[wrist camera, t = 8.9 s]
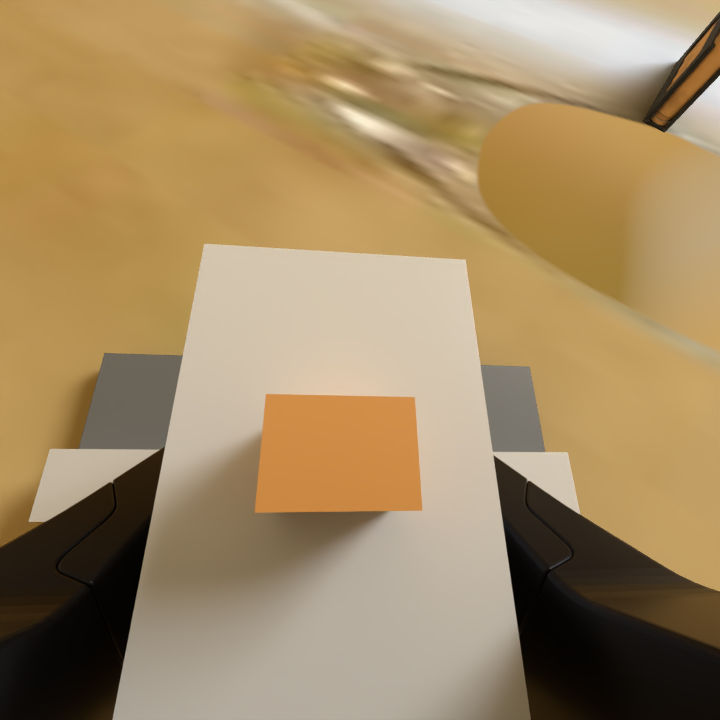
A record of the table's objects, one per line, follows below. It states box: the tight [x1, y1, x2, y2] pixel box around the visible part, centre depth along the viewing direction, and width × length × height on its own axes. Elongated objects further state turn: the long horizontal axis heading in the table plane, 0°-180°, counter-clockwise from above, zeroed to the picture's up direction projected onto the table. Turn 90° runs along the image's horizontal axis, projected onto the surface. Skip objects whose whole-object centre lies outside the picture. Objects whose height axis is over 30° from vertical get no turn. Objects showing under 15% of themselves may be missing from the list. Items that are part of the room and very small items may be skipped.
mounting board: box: [28, 353, 580, 522], centre depth 14 cm, size 20×11×3 cm, turn 90°
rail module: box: [113, 244, 531, 720], centre depth 9 cm, size 6×4×12 cm, turn 179°
